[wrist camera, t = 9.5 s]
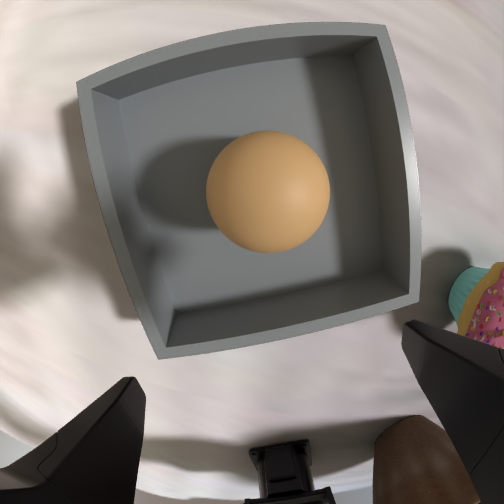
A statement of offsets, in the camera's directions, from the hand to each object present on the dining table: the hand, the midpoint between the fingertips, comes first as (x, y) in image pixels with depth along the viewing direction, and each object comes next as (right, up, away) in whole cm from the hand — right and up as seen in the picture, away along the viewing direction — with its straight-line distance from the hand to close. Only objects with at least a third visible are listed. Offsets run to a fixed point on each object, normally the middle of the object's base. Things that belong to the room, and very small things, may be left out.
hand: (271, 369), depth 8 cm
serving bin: (0, +8, +9) cm, 12 cm away
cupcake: (+19, 0, +12) cm, 23 cm away
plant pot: (+18, -19, +19) cm, 33 cm away
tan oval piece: (0, +7, +8) cm, 11 cm away
